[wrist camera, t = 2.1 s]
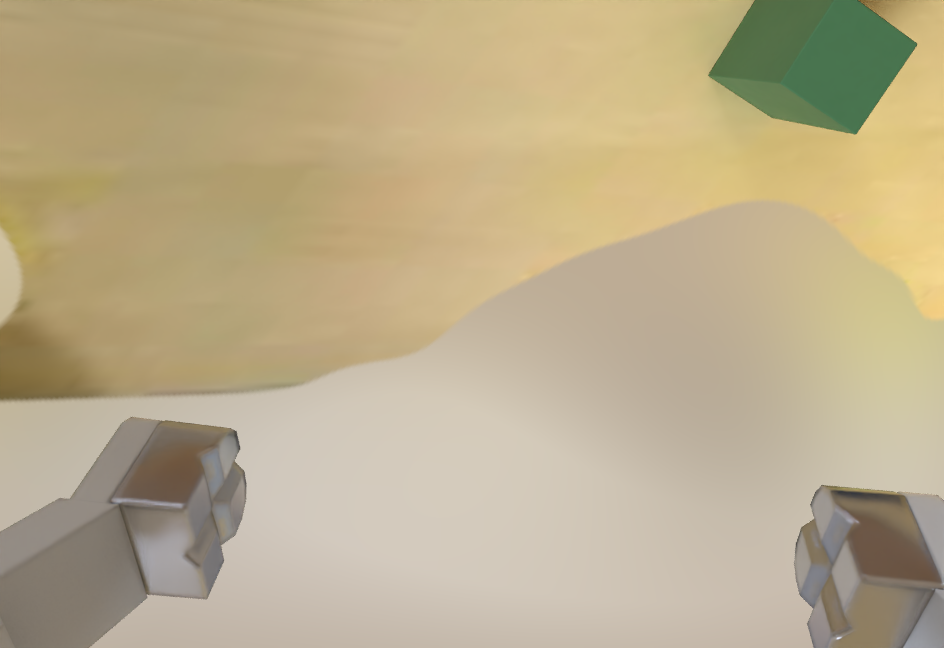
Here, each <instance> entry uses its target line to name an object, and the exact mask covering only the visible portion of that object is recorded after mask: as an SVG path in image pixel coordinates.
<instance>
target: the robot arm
mask: <svg viewBox="0 0 944 648" xmlns="http://www.w3.org/2000/svg"><path fill="white" fill-rule="evenodd" d="M239 450H240V445H239V441H238V436H237V432H236V431H235V430H233V429H231V428H224V427H216V426H208V425H199V424H191V423H183V422H175V421H160V420H151V419H144V418H136V417H131V418H129V419H127V420H126V421H124V422H123V423H122V424H121V425H120V427H119V428H118V429H117V431H116V432H115V434H114V435H113V437H112V438H111V439H110V441H109V442H108V444H107V445H106V447H105V448H104V450H103V451H102V453H101V454H100V455H99V457H98V458H97V460H96V461H95V463H94V464H93V466H92V467H91V469H90V470H89V472H88V473H87V474H86V476H85V477H84V479H83V480H82V482H81V483H80V485H79V486H78V488H77V489H76V490H75V492H74V494H73V495H72V496H71V498H70V499H64V498H59V499H57V500H55V501H54V502H52V503H50V504H48V505H46V506H45V507H43V508H41V509H39V510H38V511H36V512H34V513H33V514H31V515H29V516H27V517H25V518H24V519H22V520H20V521H18V522H17V523H15V524H13V525H11V526H10V527H8V528H6V529H4V530H3V531H1V532H0V648H89V647H90V646H92V645H93V644H94V643H95V642H96V641H97V640H99V639H100V638H101V637H102V636H103V635H104V634H105V633H107V632H108V631H109V630H110V629H111V628H113V627H114V626H115V625H116V624H117V623H118V622H120V621H121V620H122V619H123V618H124V617H125V616H127V615H128V614H129V613H130V612H131V611H132V610H134V609H135V608H136V607H137V606H138V605H140V603H142V602H143V601H144V600H145V599H146V598H147V594H148V595H160V596H173V597H185V598H197V599H207V598H208V596H209V593H210V591H211V589H212V587H213V584H214V582H215V580H216V578H217V576H218V573H219V571H220V569H221V567H222V564H223V562H224V558H223V553H222V548H221V545H222V544H224V543H225V542H226V541H228V540H229V539H230V538H232V537H233V536H235V534H236V532H237V530H238V527H239V525H240V522H241V520H242V516H243V511H244V507H245V502H246V479H245V473H244V470H243V469H241V467H239V465H237V463H236V462H235V459H236V456H237V454H238V452H239ZM810 505H811V508H812V512H813V516H814V520H812V521H810V522H809V523H807V524H806V525H804V526H803V527H802V528H801V531H800V534H799V536H798V539H797V542H796V548H795V561H794V566H795V575H796V582H797V586H798V589H799V594H800V596H801V597H802V598H803V599H804V600H805V601H806V602H807V603H808V604H809V605H810V606H811V607H812V608H813V611H812V614H811V616H810V618H809V621H808V623H807V625H808V628H809V632H810V636H811V639H812V643H813V647H814V648H944V500H943V499H942V498H940V497H939V496H938V495H931V494H919V493H908V492H897V493H896V492H893V491H882V490H871V489H859V488H848V487H837V486H824V485H822V486H821V487H820V488H819V489H818V490H817V491H816V492H815V494H814V497H813V499H812V502H811V504H810Z"/></svg>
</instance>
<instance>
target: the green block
mask: <svg viewBox="0 0 944 648" xmlns="http://www.w3.org/2000/svg"><path fill="white" fill-rule="evenodd" d="M916 46H917V43H916V42H914V41H913V40H912V39H910V38H909V37H907V36H906V35H905V34H903V33H902V32H901V31H899V30H898V29H897V28H895V27H894V26H892V25H891V24H890V23H888V22H887V21H886V20H884V19H883V18H881V17H880V16H879V15H877V14H876V13H875V12H873V11H872V10H871V9H869V8H868V7H866V6H865V5H864V4H862V3H861V2H860V1H858V0H755V1H754V3H753V4H752V6H751V8H750V9H749V11H748V12H747V14H746V16H745V17H744V19H743V20H742V22H741V24H740V25H739V27H738V28H737V30H736V32H735V33H734V35H733V36H732V38H731V40H730V41H729V43H728V44H727V46H726V48H725V49H724V51H723V52H722V54H721V56H720V57H719V59H718V60H717V62H716V64H715V65H714V67H713V68H712V70H711V72H710V73H709V77H711V78H712V79H714V80H715V81H717V82H718V83H720V84H721V85H723V86H725V87H726V88H728V89H729V90H731V91H732V92H734V93H735V94H737V95H738V96H740V97H741V98H743V99H744V100H746V101H747V102H749V103H750V104H752V105H753V106H755V107H756V108H758V109H759V110H761V111H762V112H764V113H765V114H767V115H768V116H770V117H772V118H776V119H781V120H786V121H791V122H796V123H801V124H806V125H811V126H816V127H821V128H826V129H831V130H836V131H841V132H846V133H851V134H857V132H858V131H859V129H860V128H861V126H862V125H863V123H864V122H865V121H866V119H867V118H868V116H869V115H870V113H871V112H872V110H873V109H874V107H875V106H876V104H877V103H878V102H879V100H880V99H881V97H882V96H883V94H884V93H885V91H886V90H887V88H888V87H889V85H890V84H891V82H892V81H893V80H894V78H895V77H896V75H897V74H898V72H899V71H900V69H901V68H902V66H903V65H904V63H905V62H906V61H907V59H908V58H909V56H910V55H911V53H912V52H913V50H914V49H915V47H916Z"/></svg>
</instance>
